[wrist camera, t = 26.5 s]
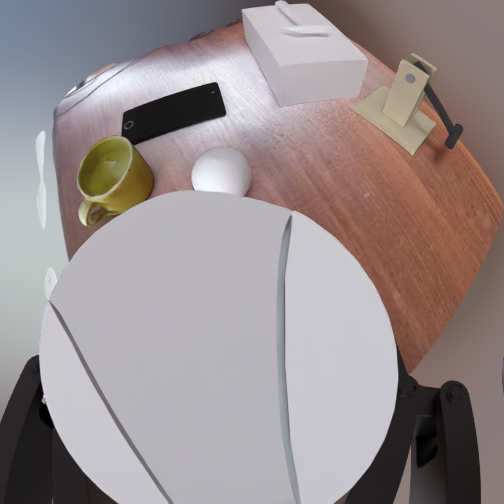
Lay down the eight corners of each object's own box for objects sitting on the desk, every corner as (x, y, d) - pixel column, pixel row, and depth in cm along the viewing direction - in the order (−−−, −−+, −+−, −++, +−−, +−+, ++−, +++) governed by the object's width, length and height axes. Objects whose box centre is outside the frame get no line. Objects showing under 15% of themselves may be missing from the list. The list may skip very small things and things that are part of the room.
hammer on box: (280, 106, 40) (279, 53, 29) (245, 40, 47) (240, 0, 37) (358, 97, 40) (371, 49, 29) (306, 33, 47) (308, -5, 37)
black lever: (455, 133, 32) (466, 130, 30) (445, 150, 31) (457, 147, 29) (412, 63, 29) (422, 57, 27) (398, 73, 28) (409, 67, 26)
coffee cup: (329, 380, 17) (450, 478, 3) (217, 415, 17) (101, 542, 3) (290, 270, 20) (318, 114, 5) (182, 307, 20) (13, 241, 5)
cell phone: (125, 115, 43) (122, 112, 42) (218, 84, 43) (217, 81, 42) (122, 149, 40) (120, 146, 39) (227, 115, 40) (226, 111, 39)
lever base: (433, 128, 37) (462, 80, 25) (412, 155, 36) (446, 101, 24) (380, 90, 40) (397, 37, 28) (353, 111, 39) (369, 51, 27)
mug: (122, 142, 38) (97, 119, 28) (171, 171, 39) (154, 152, 29) (82, 207, 38) (49, 200, 28) (128, 240, 39) (101, 242, 29)
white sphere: (247, 162, 37) (241, 127, 30) (259, 208, 35) (255, 178, 28) (178, 179, 37) (160, 149, 30) (183, 226, 35) (163, 201, 28)
